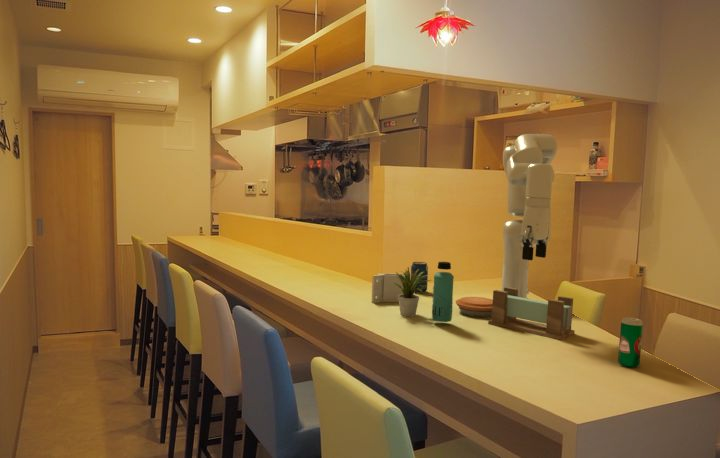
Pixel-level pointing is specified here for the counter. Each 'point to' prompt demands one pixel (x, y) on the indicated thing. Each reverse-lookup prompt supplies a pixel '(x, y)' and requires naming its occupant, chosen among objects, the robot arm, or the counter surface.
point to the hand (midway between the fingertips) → (534, 258)
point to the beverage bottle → (443, 294)
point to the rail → (534, 310)
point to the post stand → (549, 330)
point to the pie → (475, 306)
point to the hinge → (386, 288)
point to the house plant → (409, 292)
